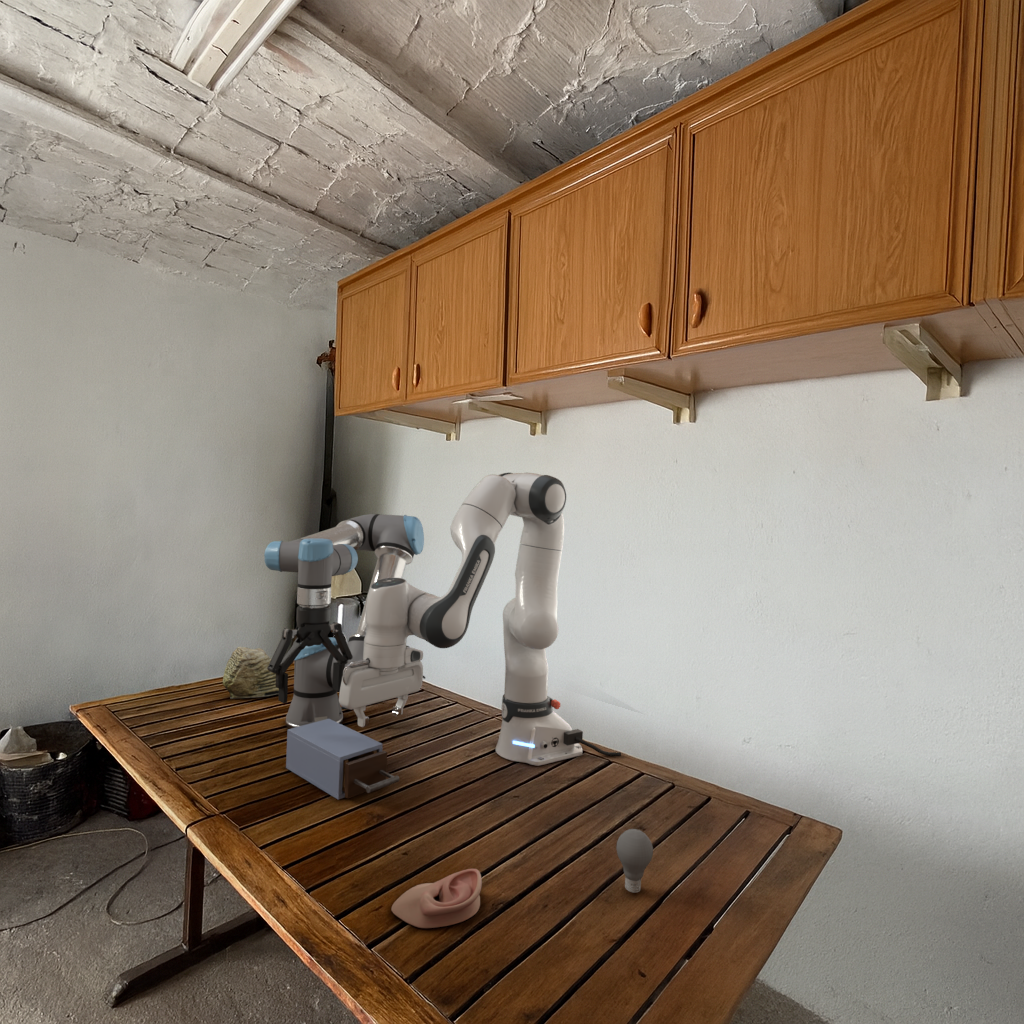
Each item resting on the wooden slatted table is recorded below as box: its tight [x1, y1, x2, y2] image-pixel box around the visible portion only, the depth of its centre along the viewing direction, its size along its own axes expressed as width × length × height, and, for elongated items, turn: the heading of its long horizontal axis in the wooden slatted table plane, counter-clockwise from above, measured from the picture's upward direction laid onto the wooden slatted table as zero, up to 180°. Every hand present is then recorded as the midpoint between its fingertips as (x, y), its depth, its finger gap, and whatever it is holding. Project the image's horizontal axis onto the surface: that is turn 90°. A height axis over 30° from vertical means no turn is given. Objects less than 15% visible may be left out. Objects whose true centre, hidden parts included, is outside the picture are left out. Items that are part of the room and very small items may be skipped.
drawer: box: [342, 750, 400, 799], centre depth 140 cm, size 26×10×7 cm, turn 49°
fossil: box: [222, 646, 279, 699], centre depth 198 cm, size 9×18×15 cm, turn 132°
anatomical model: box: [391, 868, 483, 929], centre depth 99 cm, size 13×4×12 cm
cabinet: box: [285, 719, 384, 801], centre depth 144 cm, size 21×11×9 cm, turn 49°
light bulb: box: [615, 828, 654, 894], centre depth 106 cm, size 6×6×10 cm
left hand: (310, 696), depth 148 cm, fingers open, 13 cm apart
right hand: (380, 720), depth 134 cm, fingers open, 8 cm apart
